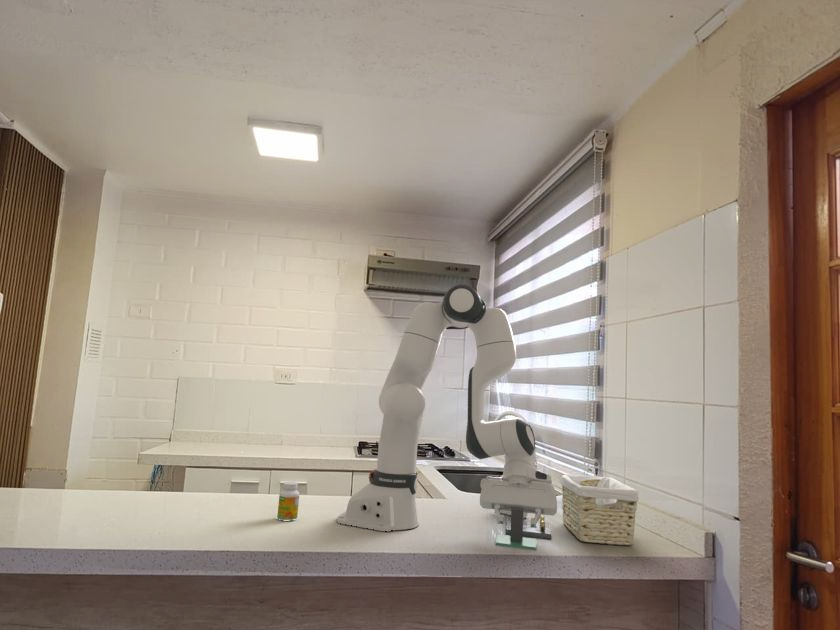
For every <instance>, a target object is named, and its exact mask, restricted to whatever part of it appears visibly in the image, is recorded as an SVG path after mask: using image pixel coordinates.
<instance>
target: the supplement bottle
mask: <svg viewBox="0 0 840 630" xmlns="http://www.w3.org/2000/svg"><path fill="white" fill-rule="evenodd" d="M298 486H299V485H298V482H296V481H283V482H282V490H281V491H280V492H279V495H278V497H279V498H278V505H277V506H278V508H277V517H276V518H278V519H280V520H293V519H296V518H297V519H298V513H299V504H300V492H299V491H298V490H297V489H298ZM278 519H277V520H278ZM280 520H279V521H280Z"/></svg>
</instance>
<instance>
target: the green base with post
mask: <svg viewBox="0 0 840 630" xmlns="http://www.w3.org/2000/svg"><path fill="white" fill-rule="evenodd" d="M523 513H524V508H520V507H512V509H511V515H510V520H511V534H509V535H508V534H505V535H504V534H499V533H498V534H497V537H496V541H495V545H496V546H501V547H510V548H516V549H526V550H534V551H537V538H533V537H525V536H523V521H524V518H523Z"/></svg>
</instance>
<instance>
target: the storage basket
mask: <svg viewBox="0 0 840 630" xmlns="http://www.w3.org/2000/svg"><path fill="white" fill-rule="evenodd" d="M560 484H561V486H562V487H561V488H562V489H561V490H562V491H561V493H562V497H561V502H562V505H561V508H562V523H563V524H564V526H565V527H566V528H567V529H568V530H569V531H570V532H571V533H572V534H573V535H574V536H575V537H576V538H577V540H579V541H582V542H584V543H592V544H597V543H598V544H607V545H618V546H631V545H632V544H633V543H634V535H635V525H636V524H635V523H636V512H637V508H638V507H637V506H638V502H639V491H638V490H637V489H635V488H633V487H631V486H629V485H627V484H625V483H623V482H621V481H619V480H617V479H616V478H614V477H611V476H597V475H580V474H579V475H578V474H563V475H561V479H560ZM633 545H634V544H633Z"/></svg>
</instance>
